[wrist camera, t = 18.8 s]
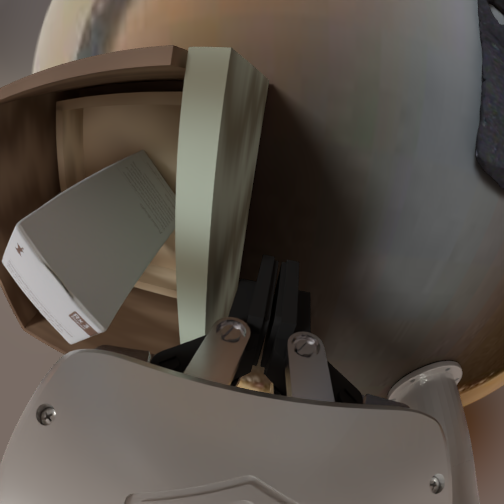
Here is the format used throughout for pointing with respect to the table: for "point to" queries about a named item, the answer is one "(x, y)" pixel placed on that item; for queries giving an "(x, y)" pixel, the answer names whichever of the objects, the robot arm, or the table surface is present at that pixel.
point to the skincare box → (92, 245)
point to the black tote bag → (491, 93)
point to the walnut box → (48, 185)
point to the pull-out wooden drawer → (182, 171)
